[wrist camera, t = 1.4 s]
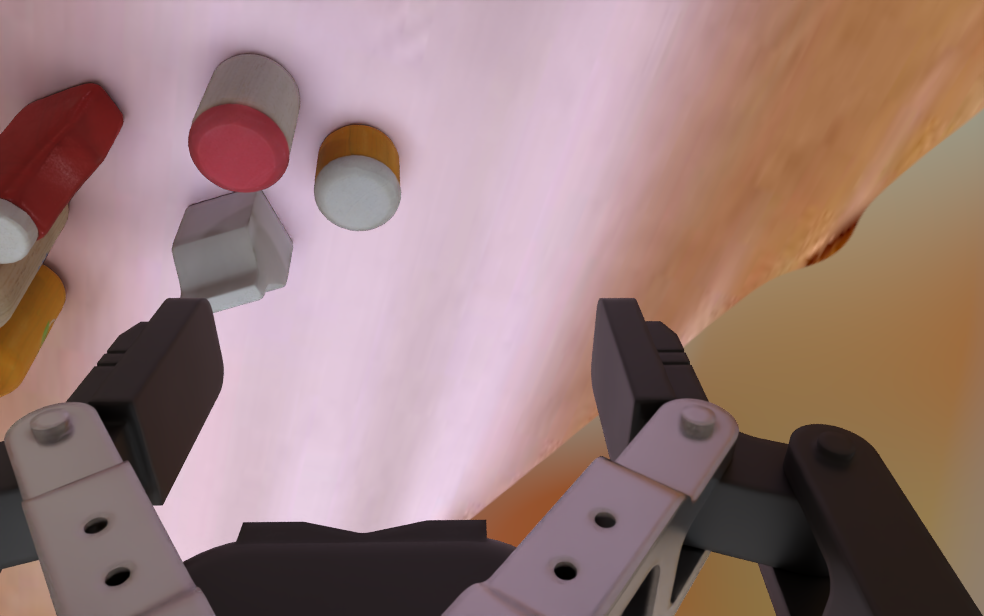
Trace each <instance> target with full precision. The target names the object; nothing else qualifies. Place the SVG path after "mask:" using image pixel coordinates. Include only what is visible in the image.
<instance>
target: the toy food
mask: <svg viewBox="0 0 984 616" xmlns="http://www.w3.org/2000/svg"><path fill="white" fill-rule="evenodd" d="M299 108H300V97H299V91H298V88H297V85H296V83H295V82H294V80H293V78H292V77H291V75H290V74H289V73H288V71H286V70H285V69H284V68H283V67H282V66H281V65H279V64H278V63H277V62H275V61H273V60H271V59H269V58H267V57H264V56H261V55H255V54H243V55H237V56H234V57H231V58H229V59H227V60H225V61H224V62H223V63H221V64H220V65H219V66H218V67H217V68H216V70H215V71H214V73H213V75H212V77H211V80H210V82H209V84H208V86H207V89H206V91H205V93H204V96H203V98H202V100H201V102H200V105H199V107H198V109H197V112H196V114H195V116H194V118H193V121H192V125H191V129H190V132H189V137H188V147H189V151H190V155H191V158H192V160H193V162H194V164H195V165H196V167H197V168H198V170H199V171H200V172H201V173H202V174H203V175H204V176H205V177H206V178H207V179H208V180H210V181H211V182H212V183H214V184H216V185H217V186H219V187H221V188H223V189H227V190H230V191H234V192H235V193H232V194H228V195H225V196H222V197H218V198H215V199H212V200H208V201H205V202H201V203H198V204H195V205H192V206H189V207H188V208H187V209H186V211H185V214H184V216H183V219H182V221H181V224H180V226H179V229H178V232H177V235H176V237H175V240H174V242H173V246H172V253H173V258H174V262H175V266H176V270H177V274H178V278H179V282H180V288H181V297H180V298H206V299H207V300H208V301H209V302H210V304H211V307H212V311H213V313H215V312H219V311H222V310H226V309H229V308H232V307H236V306H239V305H243V304H246V303H250V302H254V301H257V300H260V299H262V298H263V296H264V294H265V292H268V291H272V290H275V289H279V288H282V287H284V286H285V285H286V282H287V278H288V273H289V267H290V262H291V256H292V250H293V243H292V241H291V239H290V238H289V236H288V234H287V232H286V231H285V229H284V227H283V226H282V224H281V222H280V221H279V219H278V217H277V216H276V214H275V212H274V211H273V209H272V207H271V206H270V204H269V202H268V201H267V199H266V197H265V196H264V194H263V192H262V190H263V189H266V188H268V187H270V186H272V185H273V184H275V183H276V182H277V181H278V180H279V179H280V178H281V177H282V175H283V174H284V173H285V171H286V169H287V166H288V163H289V154H290V150H291V146H292V141H293V137H294V132H295V128H296V123H297V118H298V113H299ZM122 125H123V115H122V113H121V112H120V110H119V109H118V107H117V106H116V105H115V103H114V102H113V101H112V99H111V98H110V97H109V96H108V94H107V93H106V92H105V91H104V89H103V88H102V87H101V86H100V85H97V84H94V83H86V84H82V85H79V86H76V87H73V88H70V89H67V90H64V91H61V92H59V93H56V94H53V95H51V96H48V97H45V98H43V99H40V100H37V101H35V102H32V103H30V104H28V105H27V106H26V107H24V108H23V109H22V110H21V111H20V112H19V113H18V114H17V115H16V116H15V117H14V119H13V120H12V121H11V123H10V124H9V125H8V126H7V127H6V129H5V130H4V131H3V132H2V133H1V134H0V397H2V396H4V395H6V394H8V393H11V392H12V391H13V390H15V389H16V388H17V387H18V386H19V385H20V384H21V383H22V381H23V379H24V378H25V376H26V374H27V372H28V370H29V368H30V367H31V365H32V363H33V361H34V359H35V357H36V356H37V354H38V352H39V350H40V348H41V346H42V344H43V343H44V341H45V339H46V337H47V335H48V333H49V331H50V330H51V328H52V326H53V324H54V322H55V320H56V318H57V317H58V315H59V313H60V311H61V310H62V308H63V305H64V302H65V298H66V293H65V288H64V286H63V283H62V281H61V280H60V278H59V277H58V276H57V275H56V274H55V273H54V272H53V271H52V270H51V269H49V268H48V267H47V266H45V265H43V264H42V263H43V262H44V260H45V259H46V257H47V255H48V253H49V251H50V249H51V248H52V246H53V244H54V242H55V241H56V239H57V237H58V236H59V234H60V232H61V231H62V229H63V227H64V225H65V223H66V221H67V219H68V213H69V210H68V203H69V201H70V200H71V198H72V197H73V196H74V194H75V193H76V192H77V191H78V190H79V188H80V187H81V186H82V185H83V183H84V182H85V181H86V180H87V179H88V178H89V177H90V176H91V175H92V173H93V172H94V171H95V170H96V169H97V168H98V166H99V165H100V164H101V163H102V162H103V161H104V159H105V158H106V156H107V153H108V152H109V150H110V148H111V146H112V145H113V143H114V141H115V139H116V137H117V135H118V134H119V132H120V130H121V127H122ZM314 195H315V201H316V204H317V206H318V208H319V210H320V211H321V213H322V214H323V215H324V216H325V217H326V218H327V219H328V220H329V221H331V222H332V223H333V224H335V225H337V226H339V227H341V228H345V229H348V230H352V231H366V230H371V229H375V228H377V227H379V226H381V225H383V224H385V223H386V222H387V221H388V220H390V219H391V218H392V216H393V215H394V214H395V212H396V210H397V208H398V206H399V203H400V200H401V189H400V165H399V156H398V152H397V150H396V148H395V146H394V144H393V142H392V141H391V140H390V139H389V138H388V137H387V136H386V135H385V134H384V133H382V132H381V131H379V130H377V129H375V128H373V127H369V126H366V125H349V126H345V127H342V128H340V129H338V130H336V131H334V132H332V133H331V134H330V135H329V136H327V138H326V139H325V140H324V141H323V143H322V145H321V147H320V149H319V153H318V160H317V167H316V174H315V185H314Z"/></svg>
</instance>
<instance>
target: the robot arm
mask: <svg viewBox="0 0 984 616" xmlns="http://www.w3.org/2000/svg"><path fill="white" fill-rule="evenodd" d="M223 376H224V367H223V360H222V355H221V350H220V345H219V340H218V335H217V331H216V326H215V321H214V316H213V311H212V307H211V304H210V302H209V301H208V300H207V299H206V298H168V299H166V300H165V301H164V302H163V304H162V305H161V306H160V308H159V309H158V310H157V311H156V313H155V314H154V315H153V317H152V318H151V319H150V321H149V322H140V323H138V324H137V325H135V326H133V327H132V328H130V329H129V330H127V331H126V332H124V333H122V334H121V335H119V337H118V338H117V339H116V340H115V342H114V343H113V344H112V345H111V347H110V348H109V349H108V350H107V354H104V355H103V356H102V358H101V359H100V360H99V361H98V363H97V366H94V368H93V369H92V370H91V371H90V373H89V374H88V375H87V376H86V378H85V379H84V380H83V381H82V383H81V384H80V385H79V386H78V388H77V389H76V390H75V391H74V393H73V394H72V395H71V396H70V398H69V399H68V400H67V401H66V402H65V403H58V404H53V405H49V406H46V407H43V408H40V409H37V410H35V411H33V412H31V413H29V414H27V415H25V416H24V417H22V418H21V419H19V420H18V421H16V422H15V423H14V424H13V425H12V426H11V427H10V428H9V430H8V431H7V433H6V435H5V438H4V441H2V442H0V573H1V571H2V569H4V568H8V567H12V566H16V565H20V564H24V563H28V562H32V561H36V560H39V561H40V564H41V568H42V571H43V574H44V577H45V580H46V583H47V586H48V589H49V593H50V596H51V599H52V602H53V605H54V608H55V611H56V615H57V616H674V615H675V613H676V612H677V610H678V608H679V606H680V605H681V603H682V601H683V599H684V598H685V596H686V594H687V592H688V591H689V589H690V587H691V586H692V584H693V582H694V580H695V579H696V577H697V575H698V573H699V571H700V570H701V568H702V567H703V565H704V563H705V561H706V559H707V558H708V556H709V554H710V552H711V551H712V552H716V553H720V554H724V555H728V556H731V557H735V558H739V559H744V560H747V561H752V562H756V563H758V565H759V568H760V571H761V574H762V576H763V579H764V582H765V585H766V588H767V590H768V593H769V596H770V599H771V602H772V604H773V607H774V610H775V613H776V616H983V615H982V614H981V612H980V611H979V609H978V608H977V606H976V604H975V603H974V601H973V600H972V598H971V597H970V595H969V594H968V592H967V590H966V589H965V587H964V586H963V584H962V583H961V581H960V580H959V578H958V577H957V575H956V573H955V572H954V570H953V569H952V567H951V566H950V564H949V563H948V561H947V559H946V558H945V556H944V555H943V553H942V552H941V550H940V549H939V547H938V546H937V544H936V542H935V541H934V539H933V538H932V536H931V535H930V533H929V532H928V530H927V529H926V527H925V525H924V524H923V522H922V521H921V519H920V518H919V516H918V515H917V513H916V512H915V510H914V509H913V507H912V505H911V504H910V502H909V501H908V499H907V498H906V496H905V494H904V493H903V491H902V490H901V488H900V487H899V485H898V484H897V482H896V481H895V479H894V477H893V476H892V474H891V473H890V471H889V470H888V468H887V467H886V465H885V464H884V462H883V461H882V459H881V457H880V456H879V454H878V453H877V451H876V450H875V449H874V447H873V446H872V445H870V444H869V443H868V442H867V441H866V440H864V439H863V438H861V437H860V436H858V435H856V434H854V433H852V432H850V431H848V430H845V429H843V428H839V427H836V426H831V425H823V424H811V425H805V426H802V427H800V428H798V429H796V430H795V431H794V432H793V433H792V435H791V437H790V441H789V444H785V443H780V442H775V441H770V440H766V439H760V438H757V437H753V436H749V435H747V434H744V433H741V432H739V428H738V424H737V422H736V420H735V419H734V418H733V416H732V415H731V414H730V413H728V412H727V411H726V410H724V409H723V408H721V407H719V406H717V405H715V404H713V403H710V402H709V401H708V399H707V397H706V395H705V393H704V391H703V388H702V386H701V384H700V382H699V380H698V378H697V376H696V374H695V372H694V369H693V367H692V365H690V361H689V359H688V357H687V355H686V353H684V348H683V346H682V344H681V342H680V340H679V338H678V336H677V334H676V333H674V332H673V331H672V330H671V329H669V328H668V327H667V326H666V325H665V324H663V323H662V322H661V321H645V320H644V317H643V315H642V312H641V310H640V308H639V305H638V303H637V301H636V299H635V298H600V299H599V301H598V304H597V311H596V321H595V332H594V342H593V352H592V364H591V377H592V388H593V393H594V397H595V401H596V405H597V409H598V413H599V417H600V420H601V425H602V429H603V433H604V437H605V441H606V444H607V449H608V452H609V457H610V459H607V458H605V457H603V456H600V457H598V458H596V459H595V460H594V461H593V462H592V463H591V465H590V466H588V468H587V469H586V470H585V471H584V472H583V473H582V475H581V476H580V477H579V478H578V479H577V480H576V481H575V482H574V483H573V485H572V486H571V487H570V488H569V489H568V490H567V491H566V492H565V494H564V495H563V496H562V497H561V498H560V499H559V500H558V502H557V503H556V504H555V505H554V506H553V507H552V509H550V511H549V512H548V513H547V514H546V515H545V516H544V517H543V519H542V520H541V521H540V522H539V523H538V524H537V525H536V526H535V527H534V529H533V530H532V531H531V532H530V533H529V534H528V535H527V537H526V538H525V539H524V540H523V541H522V542H521V543H520V545H519V546H518V547H514V546H512V545H510V544H507V543H504V542H500V541H497V540H493V539H488V538H487V531H486V520H427V521H422V522H417V523H412V524H408V525H403V526H398V527H393V528H389V529H384V530H379V531H374V532H369V533H357V532H352V531H347V530H342V529H337V528H332V527H327V526H322V525H317V524H312V523H307V522H243V525H242V527H241V530H240V533H239V536H238V538H237V541H236V542H232V543H228V544H225V545H221V546H218V547H215V548H212V549H210V550H207V551H205V552H202V553H200V554H198V555H196V556H194V557H192V558H190V559H188V560H186V561H184V562H182V560H181V558H180V556H179V554H178V552H177V550H176V549H175V547H174V545H173V543H172V541H171V539H170V537H169V535H168V534H167V532H166V530H165V528H164V526H163V524H162V522H161V520H160V519H159V517H158V515H157V513H156V511H155V509H154V507H153V505H163V504H164V502H165V500H166V498H167V496H168V494H169V492H170V490H171V488H172V486H173V484H174V482H175V480H176V478H177V476H178V474H179V472H180V470H181V468H182V466H183V464H184V462H185V460H186V458H187V456H188V454H189V452H190V451H191V449H192V447H193V445H194V443H195V441H196V439H197V437H198V435H199V433H200V431H201V429H202V427H203V425H204V423H205V421H206V419H207V417H208V415H209V413H210V411H211V409H212V407H213V405H214V403H215V401H216V399H217V397H218V395H219V393H220V391H221V388H222V384H223Z"/></svg>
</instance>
